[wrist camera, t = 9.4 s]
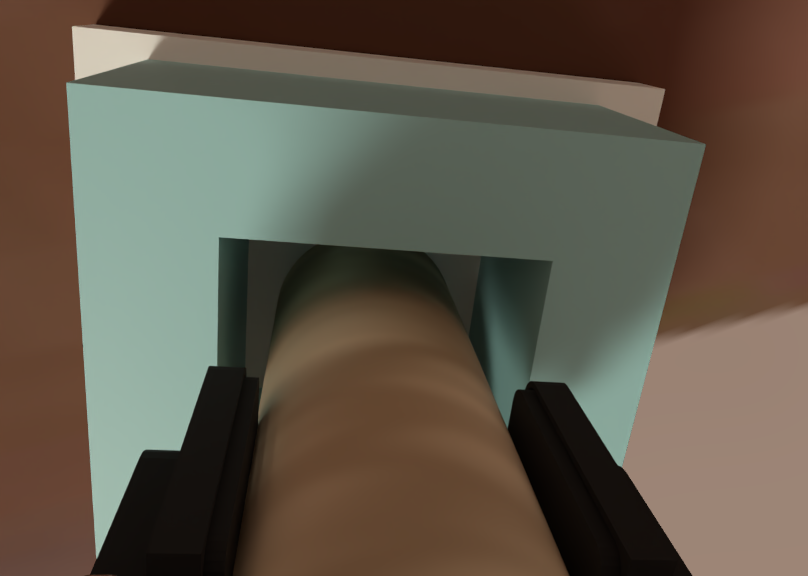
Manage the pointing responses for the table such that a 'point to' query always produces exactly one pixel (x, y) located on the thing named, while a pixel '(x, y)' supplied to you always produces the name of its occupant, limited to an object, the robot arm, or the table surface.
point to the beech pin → (382, 434)
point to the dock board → (357, 217)
